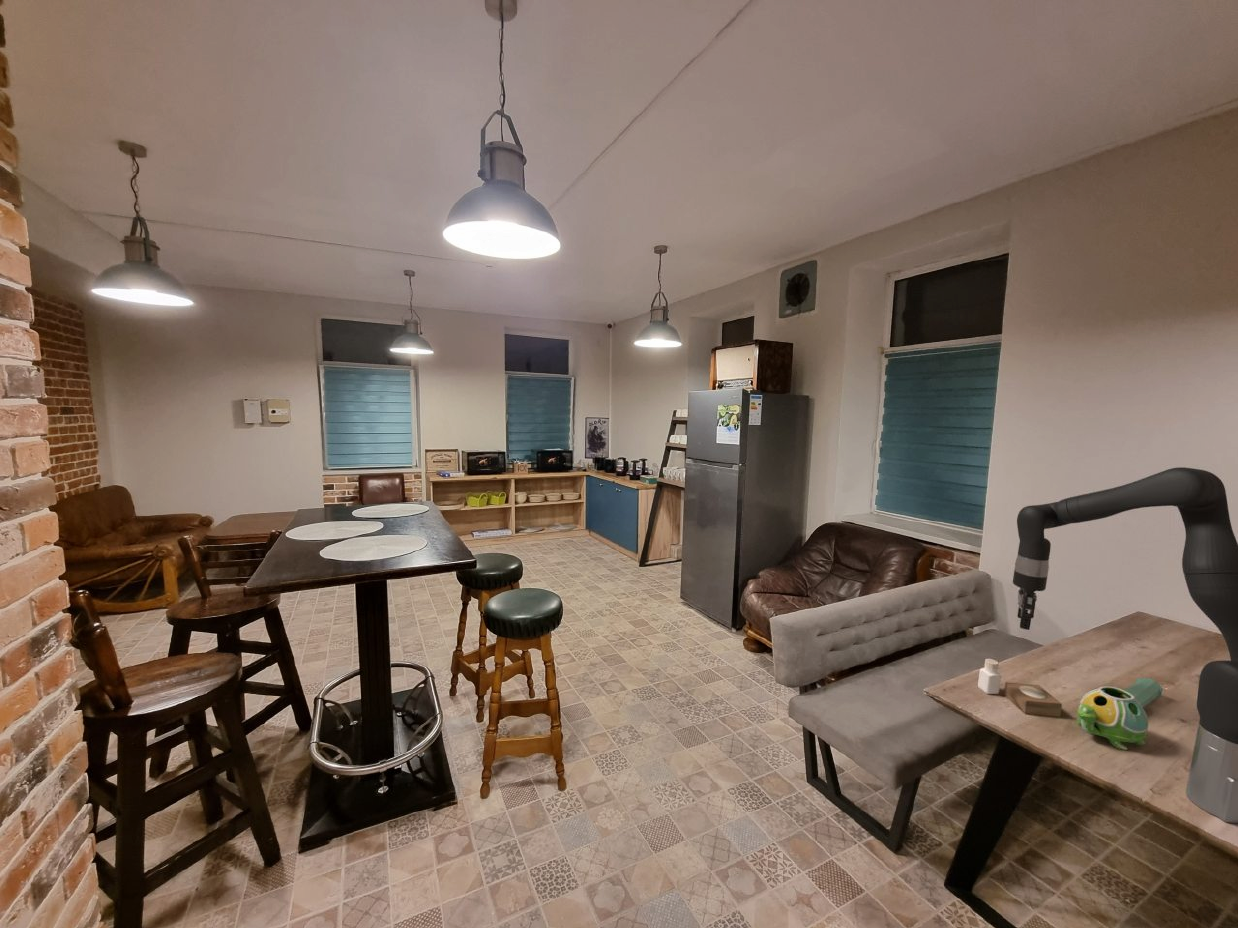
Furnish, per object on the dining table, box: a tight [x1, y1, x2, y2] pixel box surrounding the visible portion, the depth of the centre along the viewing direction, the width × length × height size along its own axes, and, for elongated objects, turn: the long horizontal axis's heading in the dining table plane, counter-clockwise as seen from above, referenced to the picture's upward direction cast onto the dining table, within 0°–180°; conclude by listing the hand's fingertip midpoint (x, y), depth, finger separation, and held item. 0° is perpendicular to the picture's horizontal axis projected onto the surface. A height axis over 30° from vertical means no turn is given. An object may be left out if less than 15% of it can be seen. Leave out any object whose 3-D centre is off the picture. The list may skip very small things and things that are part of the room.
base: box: [1003, 681, 1063, 718], centre depth 141 cm, size 9×9×4 cm
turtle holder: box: [1076, 686, 1149, 751], centre depth 128 cm, size 12×18×12 cm
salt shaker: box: [977, 658, 1002, 695], centre depth 147 cm, size 4×4×10 cm
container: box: [1122, 676, 1163, 709], centre depth 141 cm, size 6×6×25 cm
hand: (1023, 623), depth 146 cm, fingers open, 8 cm apart
